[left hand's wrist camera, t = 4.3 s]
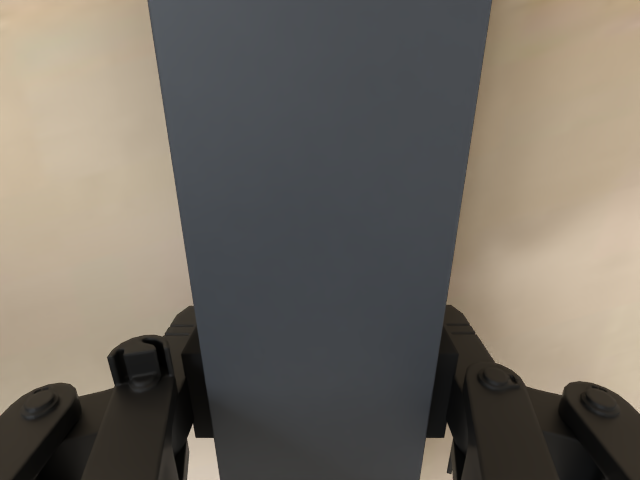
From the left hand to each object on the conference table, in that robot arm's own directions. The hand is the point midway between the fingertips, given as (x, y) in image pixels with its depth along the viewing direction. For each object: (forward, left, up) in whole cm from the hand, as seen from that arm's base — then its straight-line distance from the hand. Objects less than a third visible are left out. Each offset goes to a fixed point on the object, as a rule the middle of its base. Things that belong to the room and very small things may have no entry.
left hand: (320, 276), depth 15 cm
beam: (+28, +20, -1) cm, 34 cm away
